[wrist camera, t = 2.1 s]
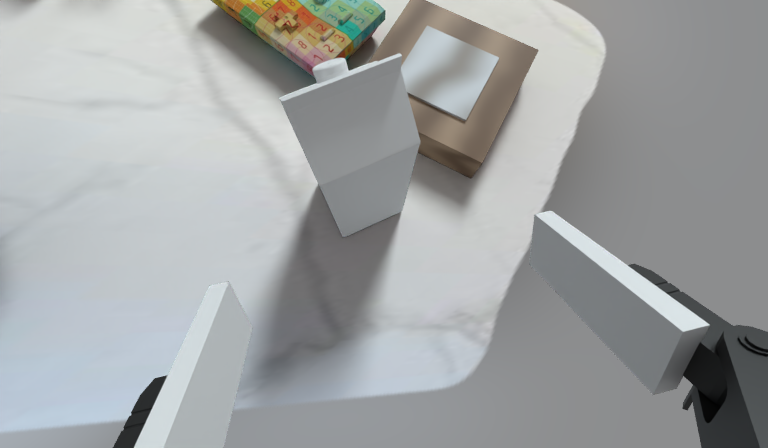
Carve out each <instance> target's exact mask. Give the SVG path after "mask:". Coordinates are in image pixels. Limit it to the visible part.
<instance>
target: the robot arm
mask: <svg viewBox="0 0 768 448" xmlns="http://www.w3.org/2000/svg"><path fill="white" fill-rule="evenodd" d="M529 264H530V266H532V268H533V269H534V270H535V271H536V272H537V273H538V274H539V275H540V276H541V277H542V278H543V279H544V280H545V281H546V283H547V284H549V286H550V287H551V288H552V289H553V290H554V291H555V292H556V293H557V294H558V295H559V296H560V297H561V298H562V299H563V300H564V302H565V303H566V304H567V305H568V306H569V307H570V308H571V309H572V310H573V311H574V312H575V313H576V314H577V315H578V316H579V317H580V318H581V319H582V320H583V321H584V322H585V324H586V325H587V326H588V327H589V328H590V329H591V330H592V331H593V332H594V333H595V334H596V335H597V336H598V337H599V338H600V339H601V340H602V341H603V343H604V344H605V345H606V346H607V347H608V348H609V349H610V350H611V351H612V352H613V353H614V354H615V355H616V356H617V357H618V358H619V359H620V360H621V361H622V362H623V364H624V365H625V366H626V367H627V368H628V369H629V370H630V371H631V372H632V373H633V374H634V375H635V376H636V377H637V378H638V379H639V380H640V382H641V383H642V384H643V385H644V386H645V387H646V388H647V389H648V390H649V391H650V392H651V393H652V394H653V395H655V394H659V393H662V392H666V391H670V390H673V389H676V388H677V387H678V385H679V383H680V381H681V379H682V377H683V376H684V377H685V378H686V379H688V380H689V381H690V382H691V383H692V384H693V386H692V388H691V390H690V391H689V393H688V395H687V397H686V399H685V400H684V402H683V409H685V410H688V408H689V407H690V405H691V403H692V402H693V406H694V411H695V417H696V421H697V427H698V432H699V436H700V442H701V447H702V448H768V332H766V331H763V330H760V329H757V328H754V327H749V326H741V325H736V326H733V325H731V324H729V323H728V322H726V321H725V320H723V319H722V318H720V317H719V316H718V315H716V314H715V313H713V312H712V311H710V310H709V309H707V308H706V307H704V306H703V305H701V304H700V303H698V302H697V301H695V300H694V299H693V298H691V297H690V296H688V295H687V294H685V293H684V292H680V291H679V289H678V288H676V287H675V286H673V285H672V284H671V283H669V284H668V283H667V281H666V280H665V279H663V278H662V277H660V276H659V275H657V274H656V273H654V272H653V271H651V270H648V269H646V268H643V267H641V266H639V265H636V264H631V265H626V264H625V263H623V262H622V261H620V260H619V259H618V258H616V257H615V256H614V255H612V254H611V253H609V252H608V251H607V250H605V249H604V248H602V247H601V246H599V245H598V244H597V243H595V242H594V241H593V240H591V239H590V238H588V237H587V236H586V235H584V234H583V233H581V232H580V231H578V230H577V229H576V228H575V227H573V226H572V225H570V224H569V223H568V222H566V221H564V220H563V219H562V218H560V217H559V216H558V215H556V214H555V213H554V212H552V211H547V212H543V213H538V214H535V215H534V225H533V234H532V243H531V253H530V262H529ZM252 330H253V328H252V326H251V324H250V322H249V320H248V318H247V316H246V314H245V312H244V310H243V308H242V306H241V304H240V302H239V300H238V298H237V296H236V294H235V292H234V290H233V288H232V286H231V284H230V282H229V281H228V282H223V283H219V284H214V285H210V286H209V288H208V290H207V292H206V294H205V297H204V299H203V301H202V303H201V305H200V307H199V309H198V312H197V314H196V316H195V318H194V320H193V322H192V324H191V326H190V329H189V331H188V333H187V335H186V337H185V339H184V341H183V344H182V346H181V348H180V350H179V352H178V354H177V356H176V359H175V361H174V363H173V365H172V367H171V369H170V371H169V374H168V375H167V376H163V377H159V378H155V379H154V380H153V381H152V382H151V383H150V385H149V386H148V387H147V388H146V389H145V390H144V391H143V393H142V394H141V395H140V397H139V399H138V401H137V402H136V404H135V406H134V408H133V410H132V412H131V413H132V415H131V416H129V418H128V420H127V422H126V424H125V426H124V430H123V431H122V432H121V433H120V435H119V437H118V439H117V441H116V443H115V445H114V447H113V448H224V444H225V440H226V435H227V432H228V427H229V424H230V420H231V415H232V411H233V407H234V403H235V399H236V395H237V391H238V387H239V383H240V379H241V375H242V371H243V366H244V362H245V358H246V354H247V350H248V346H249V342H250V338H251V334H252Z"/></svg>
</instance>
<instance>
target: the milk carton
mask: <svg viewBox="0 0 768 448" xmlns="http://www.w3.org/2000/svg"><path fill="white" fill-rule="evenodd" d="M401 62H402V55H401V54H400V53H398V54H396V55H393V56H390V57H388V58H385V59H383V60H380V61H374V62H371V63H368V64H365V65H363V66H360V67H357V68H355V69H352V70H350V71H349V70H348V67H347V63H346V60H345V59H344V58H335V59H331V60H328V61H325V62H323V63H320V64H318V65H316V66H315V67H314V68H313V69H312V71H313V74H314V76H315V78H316V82H317V83H315V84H313V85H310V86H307V87H305V88H302V89H300V90H297V91H294V92H292V93H289V94H287V95H284V96H282V97H280V98H279V99H280V101H281V103H282V105H283V107H284V110H285V112H286V114H287V116H288V118H289V121H290V123H291V125H292V127H293V129H294V132H295V134H296V136H297V138H298V140H299V142H300V145H301V147H302V149H303V151H304V153H305V156H306V158H307V160H308V162H309V164H310V167H311V169H312V171H313V173H314V175H315V177H316V180H317V182H318V184H319V186H320V188H321V191H322V193H323V195H324V197H325V199H326V202H327V204H328V206H329V208H330V210H331V213H332V215H333V217H334V219H335V221H336V223H337V226H338V228H339V230H340V232H341V234H342V236H343V237H346V236H349V235H351V234H353V233H355V232H358V231H360V230H362V229H364V228H366V227H369V226H371V225H373V224H375V223H377V222H380V221H382V220H384V219H386V218H388V217H391V216H393V215H395V214H397V213H399V212H401V211H402V210H403V206H404V202H405V198H406V194H407V191H408V187H409V183H410V179H411V175H412V172H413V168H414V164H415V160H416V156H417V153H418V149H419V145H420V138H419V134H418V130H417V127H416V123H415V119H414V116H413V112H412V108H411V105H410V101H409V97H408V94H407V90H406V87H405V83H404V79H403V76H402V72H401Z"/></svg>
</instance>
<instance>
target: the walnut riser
mask: <svg viewBox="0 0 768 448" xmlns="http://www.w3.org/2000/svg"><path fill="white" fill-rule="evenodd" d="M537 52H538V50H537V49H535V48H533V47H530V46H528V45H526V44H524V43H521V42H519V41H517V40H514V39H512V38H510V37H508V36H505V35H503V34H501V33H498V32H496V31H494V30H492V29H489V28H487V27H485V26H483V25H480V24H478V23H476V22H473V21H471V20H469V19H467V18H464V17H462V16H460V15H457V14H455V13H453V12H451V11H448V10H446V9H444V8H441V7H439V6H437V5H435V4H432V3H430V2H428V1H425V0H410V1H409V3H408V4H407V6H406V7H405V9H404V10H403V12H402V13H401V15H400V16H399V18H398V19H397V21H396V22H395V24H394V25H393V27H392V28H391V30H390V31H389V33H388V34H387V36H386V37H385V39H384V40H383V42H382V43H381V45H380V46H379V48H378V49H377V51H376V52H375V54H374V55H373V57H372V58H371V60H370V61H369V63H371V62H374V61H380V60H383V59H385V58H388V57H390V56H393V55H396V54H398V53H400V54H401V55H402V62H401V72H402V76H403V79H404V83H405V87H406V90H407V94H408V97H409V101H410V105H411V108H412V112H413V116H414V119H415V123H416V127H417V130H418V134H419V138H420V145H419V149H418V153H420V154H422V155H424V156H426V157H428V158H430V159H433V160H435V161H437V162H439V163H441V164H443V165H445V166H447V167H449V168H451V169H453V170H455V171H457V172H459V173H461V174H463V175H465V176H467V177H469V178H472V177H473V175H474V174H475V172H476V171H477V170H478V168H479V167H480V165H481V164H482V163H483V161H484V159H485V157H486V155H487V153H488V151H489V149H490V147H491V145H492V143H493V141H494V139H495V137H496V135H497V133H498V131H499V129H500V127H501V125H502V123H503V121H504V119H505V117H506V115H507V113H508V111H509V109H510V107H511V104H512V102H513V100H514V98H515V96H516V94H517V92H518V90H519V88H520V86H521V84H522V82H523V80H524V78H525V76H526V74H527V72H528V70H529V68H530V66H531V64H532V62H533V60H534V58H535V56H536V54H537Z"/></svg>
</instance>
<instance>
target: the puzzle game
mask: <svg viewBox="0 0 768 448" xmlns="http://www.w3.org/2000/svg"><path fill="white" fill-rule="evenodd" d="M211 1H212V2H214V3H215V4H216V5H218V6H219V7H220V8H222V9H223V10H224V11H226V12H227V13H228V14H229V15H230V16H232V17H233V18H234V19H236V20H237V21H238V22H240V23H241V24H242V25H244V26H245V27H246V28H248V29H249V30H251V31H252V32H253V33H255V34H256V35H257V36H259V37H260V38H261V39H263V40H264V41H265V42H267V43H268V44H269V45H271V46H272V47H274V48H275V49H276V50H278V51H279V52H280V53H282V54H283V55H284V56H286V57H287V58H288V59H290V60H291V61H292V62H294V63H295V64H297V65H298V66H299V67H301V68H302V69H303V70H305V71H306V72H307V73H309V74H310V75H311V76H313V77H314V78H315V76H314V74H313V71H312V69H313V68H314V67H315V66H316V65H318V64H320V63H323V62H325V61H328V60H331V59H335V58H344V59H345V60H347V59H348V58H349V57H350V56H351V55H352V54H353V53H354V52H355V51H356V50H357V49H359V48H360V47H361V46H362V45H363V44H364V43H365V42H366V41H367V40H368V39H369V38H370V37H371V36H372V35H373V33H374V32H375V30H376V29H377V27H378V26H379V25H380V24H381V23H382V22H383V21H384V20H385V10H384V9H383V8H382V7H381V6H380V5H379V4H378V3H376V2H374V1H373V0H211ZM315 79H316V78H315Z"/></svg>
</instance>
